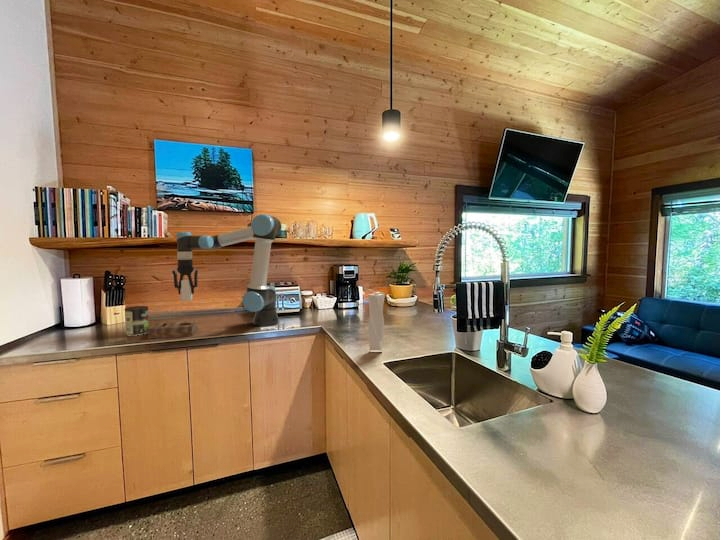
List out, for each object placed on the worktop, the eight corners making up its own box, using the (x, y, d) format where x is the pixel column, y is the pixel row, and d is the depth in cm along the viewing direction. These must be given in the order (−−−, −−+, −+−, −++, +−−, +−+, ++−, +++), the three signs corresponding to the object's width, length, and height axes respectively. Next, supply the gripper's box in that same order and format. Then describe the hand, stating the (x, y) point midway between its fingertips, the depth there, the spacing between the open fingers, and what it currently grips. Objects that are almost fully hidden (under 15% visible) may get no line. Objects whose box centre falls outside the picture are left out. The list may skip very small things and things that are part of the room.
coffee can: (152, 330, 176) (151, 305, 176) (143, 335, 166) (142, 309, 165) (132, 331, 175) (131, 306, 174) (121, 336, 165) (120, 309, 164)
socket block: (197, 329, 180) (197, 320, 179) (192, 336, 166) (192, 326, 166) (157, 332, 174) (157, 322, 174) (148, 338, 161) (147, 329, 160)
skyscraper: (366, 353, 139) (367, 289, 137) (366, 348, 147) (366, 287, 145) (385, 353, 139) (385, 289, 137) (383, 348, 147) (384, 287, 145)
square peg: (191, 300, 187) (190, 279, 186) (189, 301, 183) (188, 280, 182) (183, 300, 186) (182, 279, 185) (181, 301, 182) (181, 280, 181)
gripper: (202, 258, 189) (204, 298, 190) (170, 259, 184) (171, 299, 185) (200, 259, 182) (201, 299, 183) (166, 259, 177) (168, 301, 178)
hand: (186, 299), depth 184 cm, fingers closed on square peg, 4 cm apart
